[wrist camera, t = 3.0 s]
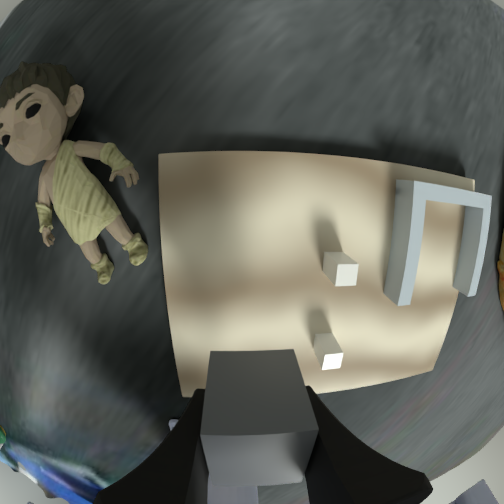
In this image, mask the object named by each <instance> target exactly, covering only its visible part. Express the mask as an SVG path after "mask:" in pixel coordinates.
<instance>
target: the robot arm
mask: <svg viewBox="0 0 504 504" xmlns="http://www.w3.org/2000/svg"><path fill="white" fill-rule="evenodd" d="M306 389H307V393H308V396H309V399H310V402H311V405H312V409H313V412H314V415H315V418H316V422H317V425H318V428H319V431H318V434H317V437H316V440H315V444H314V447H313V450H312V453H311V456H310V459H309V462H308V465H307V468H306V471H305V478H306V482H307V489H308V495H309V502H310V504H420V503H421V502H422V501H423V500H424V499H426V498H427V497H428V496H429V495H430V494H431V493H432V491H433V488H432V486H431V484H430V482H429V480H428V478H427V477H426V475H425V474H424V473H422V472H419V471H416V470H413V469H410V468H408V467H405V466H402V465H400V464H398V463H396V462H394V461H392V460H390V459H388V458H387V457H385V456H383V455H381V454H380V453H378V452H376V451H375V450H373V449H372V448H370V447H369V446H367V445H366V444H365V443H363V442H362V441H361V440H359V439H358V438H357V437H356V436H355V435H353V434H352V433H351V432H350V431H349V430H348V429H347V428H346V427H345V426H344V425H343V424H342V423H341V422H340V421H339V420H338V419H337V418H336V417H335V416H334V415H333V414H332V413H331V412H330V410H329V409H328V408H327V407H326V406H325V404H324V403H323V402H322V401H321V399H320V398H319V397H318V396H317V394H316V393H315V392H314V390H313V389H312V387H311V386H309V385H308V386H306ZM204 397H205V389H199V388H197V389H196V390H195V391H194V393H193V396H192V398H191V400H190V402H189V404H188V405H187V407H186V409H185V411H184V412H183V414H182V415H181V417H180V419H179V420H177V419H171V420H170V421H169V427H170V430H171V431H170V433H169V434H168V435H167V437H166V438H165V439H164V441H163V442H162V443H161V444H160V445H159V446H158V447H157V448H156V450H155V451H154V452H153V453H152V454H151V455H150V456H149V457H148V458H147V459H145V460H144V461H143V462H142V463H141V464H140V465H139V466H138V467H136V468H135V469H134V470H132V471H131V472H130V473H128V474H127V475H126V476H124V477H123V478H122V479H120V480H119V481H117V482H115V483H114V484H112V485H110V486H108V487H107V488H105V489H103V490H101V491H99V492H98V494H97V496H96V498H95V500H94V502H93V504H258V492H257V486H213V485H212V481H211V478H210V474H209V470H208V466H207V462H206V458H205V454H204V449H203V445H202V441H201V436H200V432H201V423H202V414H203V405H204ZM27 504H33V503H31V502H28V503H27ZM449 504H498V502H497V500H496V498H495V497H494V495H493V494H492V492H491V490H490V489H489V487H488V485H487V484H486V482H485V481H484V479H482V480H481V481H479V482H478V483H476V484H475V485H474V486H472V487H471V488H469V489H468V490H466V491H465V492H464V493H462V494H461V495H460V496H458V498H456V500H454V501H453V502H451V503H449Z"/></svg>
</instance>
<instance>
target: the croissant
mask: <svg viewBox="0 0 504 504" xmlns="http://www.w3.org/2000/svg"><path fill="white" fill-rule="evenodd" d="M497 268H498V271H499V274H500V277H499V291H500V302H501V306H502V308H503V310H504V230H503V236H502V243H501V249H500V255H499V261H498V262H497Z"/></svg>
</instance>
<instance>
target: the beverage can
mask: <svg viewBox="0 0 504 504" xmlns="http://www.w3.org/2000/svg"><path fill="white" fill-rule="evenodd" d="M5 440H6V433H5V431H4V429H3V428H2V427H1V425H0V449H1V447H2V445H3V444H4V442H5Z"/></svg>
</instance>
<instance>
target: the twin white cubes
mask: <svg viewBox="0 0 504 504" xmlns="http://www.w3.org/2000/svg"><path fill="white" fill-rule="evenodd" d="M358 266H359V264H358V263H357V262H356V261H354V260H353V259H352V258H350V257H349V256H348V255H346V254H345V253H344V252H324V259H323V270H322V271H323V272H324V274H325V275H326V276H327V277H328V278H329V280H330V281H331V282H332V283H333V284H334V285H335V286H356V281H357V274H358ZM313 350H314V352H315V354H316V357H317V359H318V362H319V364H320V366H321V369H322V370H327V369H336V368H340V366H341V362H342V358H343V351H342V349H341V347H340V346H339V344H338V342H337V340H336V338H335V337H334V335H333V333H321V334H315V339H314V346H313Z"/></svg>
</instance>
